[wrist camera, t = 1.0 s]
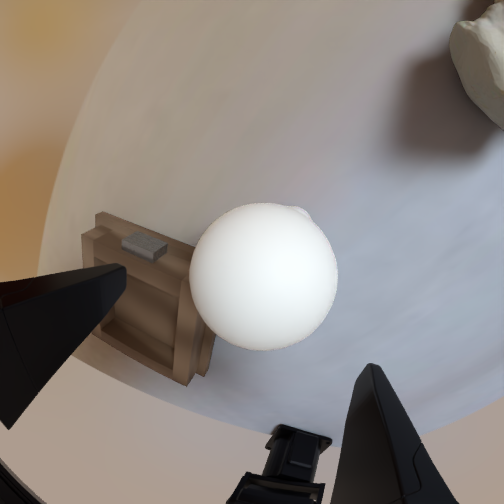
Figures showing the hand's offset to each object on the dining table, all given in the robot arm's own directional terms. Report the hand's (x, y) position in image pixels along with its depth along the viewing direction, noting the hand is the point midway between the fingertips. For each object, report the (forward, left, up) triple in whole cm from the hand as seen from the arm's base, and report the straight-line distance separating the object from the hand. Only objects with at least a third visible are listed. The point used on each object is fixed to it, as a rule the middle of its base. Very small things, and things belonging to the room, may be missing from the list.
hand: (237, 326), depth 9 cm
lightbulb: (0, 0, -12) cm, 12 cm away
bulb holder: (-11, +10, -11) cm, 19 cm away
